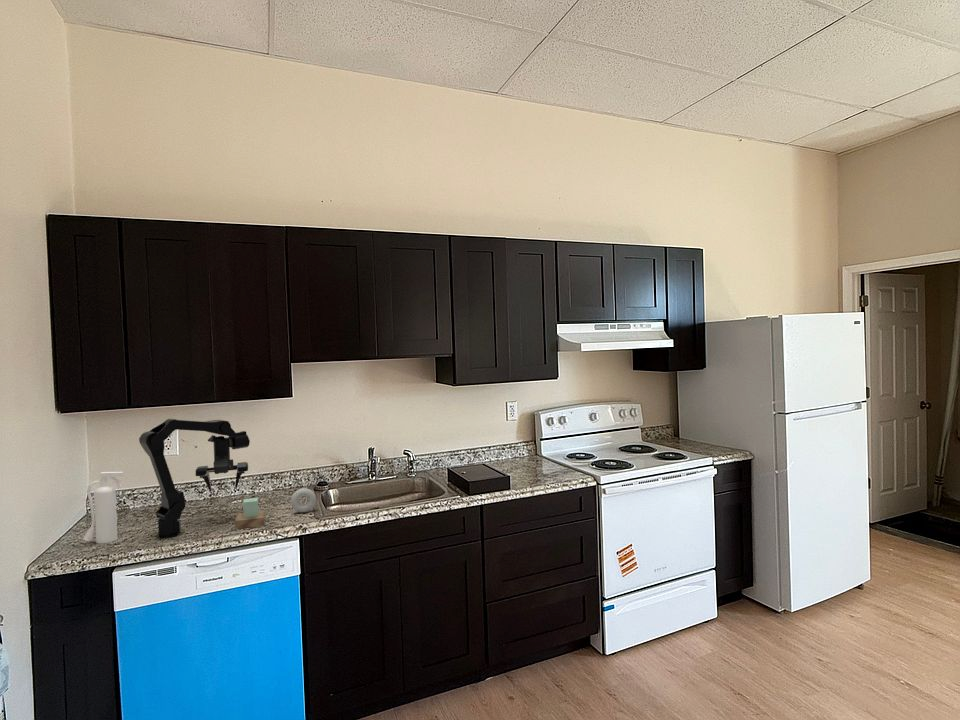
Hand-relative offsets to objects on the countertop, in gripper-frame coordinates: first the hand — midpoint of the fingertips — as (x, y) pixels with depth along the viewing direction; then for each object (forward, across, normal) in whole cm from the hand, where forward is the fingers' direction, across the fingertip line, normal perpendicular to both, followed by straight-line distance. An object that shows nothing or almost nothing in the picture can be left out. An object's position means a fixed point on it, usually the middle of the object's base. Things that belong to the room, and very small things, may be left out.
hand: (223, 490), depth 215 cm
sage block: (+8, +10, -11) cm, 17 cm away
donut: (+12, +30, -4) cm, 33 cm away
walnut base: (+12, +10, -11) cm, 19 cm away
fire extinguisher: (+12, -39, -6) cm, 41 cm away
